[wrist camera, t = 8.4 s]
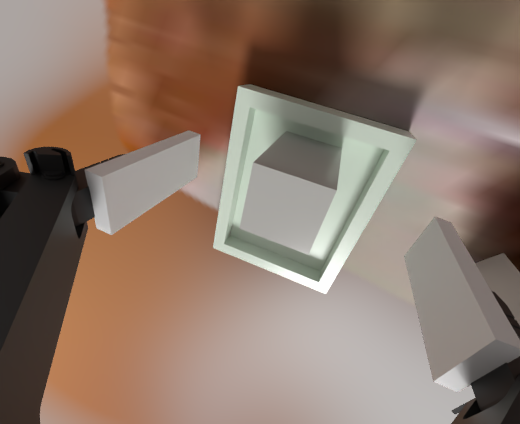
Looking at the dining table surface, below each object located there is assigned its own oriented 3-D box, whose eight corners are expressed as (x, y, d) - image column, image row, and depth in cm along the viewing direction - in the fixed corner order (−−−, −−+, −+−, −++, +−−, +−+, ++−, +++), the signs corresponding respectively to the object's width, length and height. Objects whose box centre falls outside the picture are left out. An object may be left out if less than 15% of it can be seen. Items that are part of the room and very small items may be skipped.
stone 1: (272, 180, 19) (239, 228, 14) (286, 130, 17) (253, 162, 11) (321, 197, 19) (308, 254, 13) (342, 148, 17) (336, 190, 11)
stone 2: (503, 252, 17) (578, 343, 12) (533, 289, 18) (617, 393, 12) (443, 274, 20) (481, 359, 14) (471, 306, 20) (519, 401, 15)
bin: (249, 84, 17) (238, 85, 15) (409, 131, 16) (416, 139, 14) (223, 234, 25) (213, 247, 23) (327, 276, 23) (325, 294, 22)
